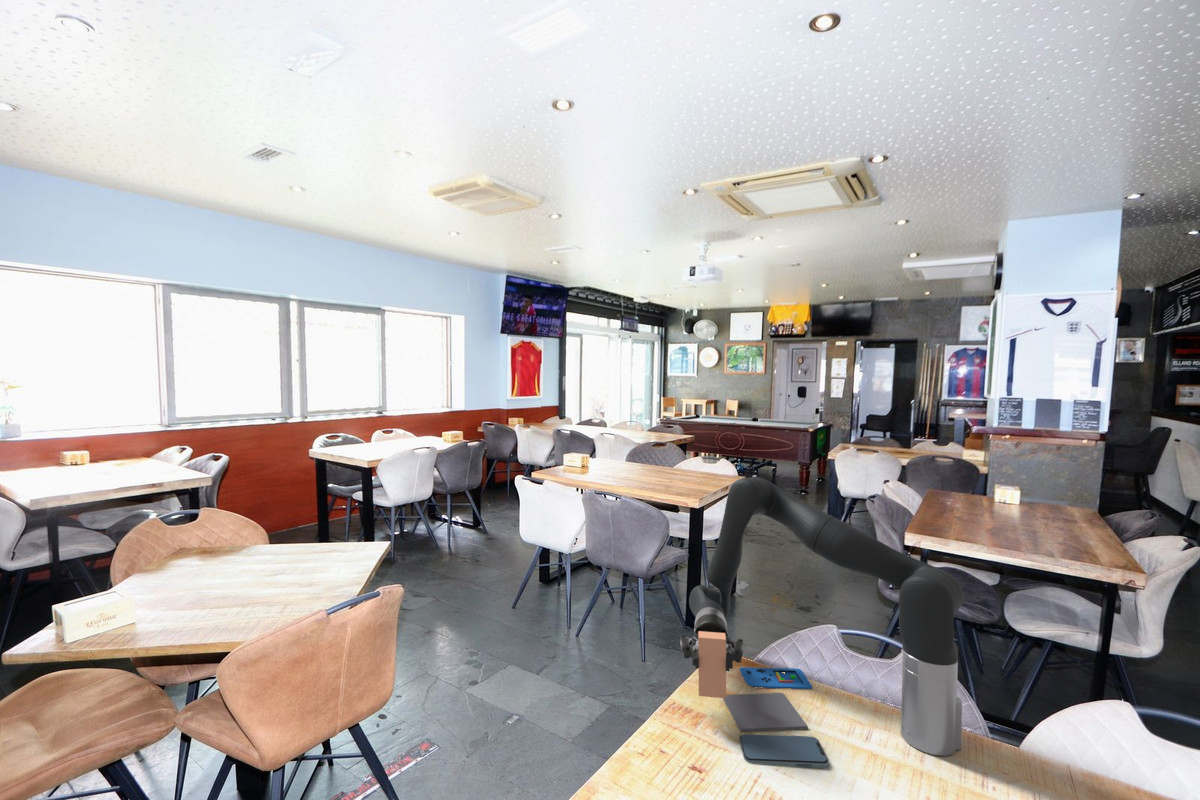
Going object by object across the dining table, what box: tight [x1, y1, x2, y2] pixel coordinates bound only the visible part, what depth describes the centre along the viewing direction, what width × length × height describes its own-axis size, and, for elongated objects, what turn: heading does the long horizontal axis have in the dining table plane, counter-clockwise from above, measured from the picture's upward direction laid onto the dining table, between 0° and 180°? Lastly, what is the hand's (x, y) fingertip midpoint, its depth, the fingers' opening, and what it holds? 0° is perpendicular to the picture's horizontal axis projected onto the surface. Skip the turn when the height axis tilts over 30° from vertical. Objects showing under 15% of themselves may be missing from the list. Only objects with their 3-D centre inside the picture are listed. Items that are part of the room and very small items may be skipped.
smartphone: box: [739, 733, 829, 769], centre depth 101 cm, size 8×2×15 cm
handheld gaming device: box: [739, 666, 813, 690], centre depth 127 cm, size 8×1×15 cm
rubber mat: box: [722, 692, 809, 733], centre depth 113 cm, size 14×12×1 cm
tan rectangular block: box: [698, 631, 727, 699], centre depth 110 cm, size 6×3×12 cm, turn 79°
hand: (712, 665), depth 108 cm, fingers closed on tan rectangular block, 5 cm apart
